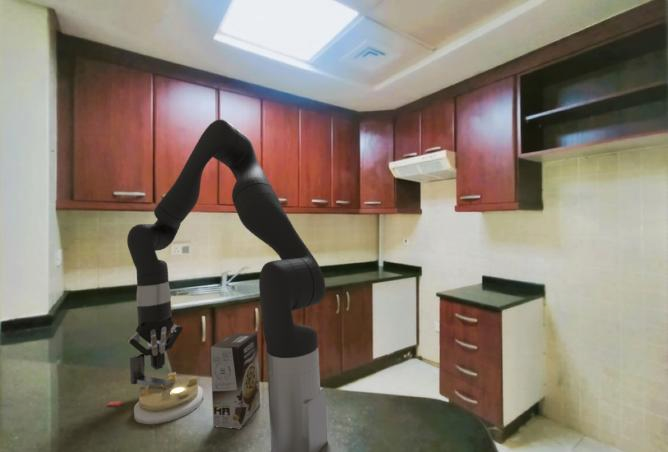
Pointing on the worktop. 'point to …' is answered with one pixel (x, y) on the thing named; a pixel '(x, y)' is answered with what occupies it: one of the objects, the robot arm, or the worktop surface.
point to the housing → (167, 411)
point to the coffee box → (235, 380)
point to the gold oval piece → (161, 387)
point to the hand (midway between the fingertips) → (158, 368)
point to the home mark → (114, 403)
